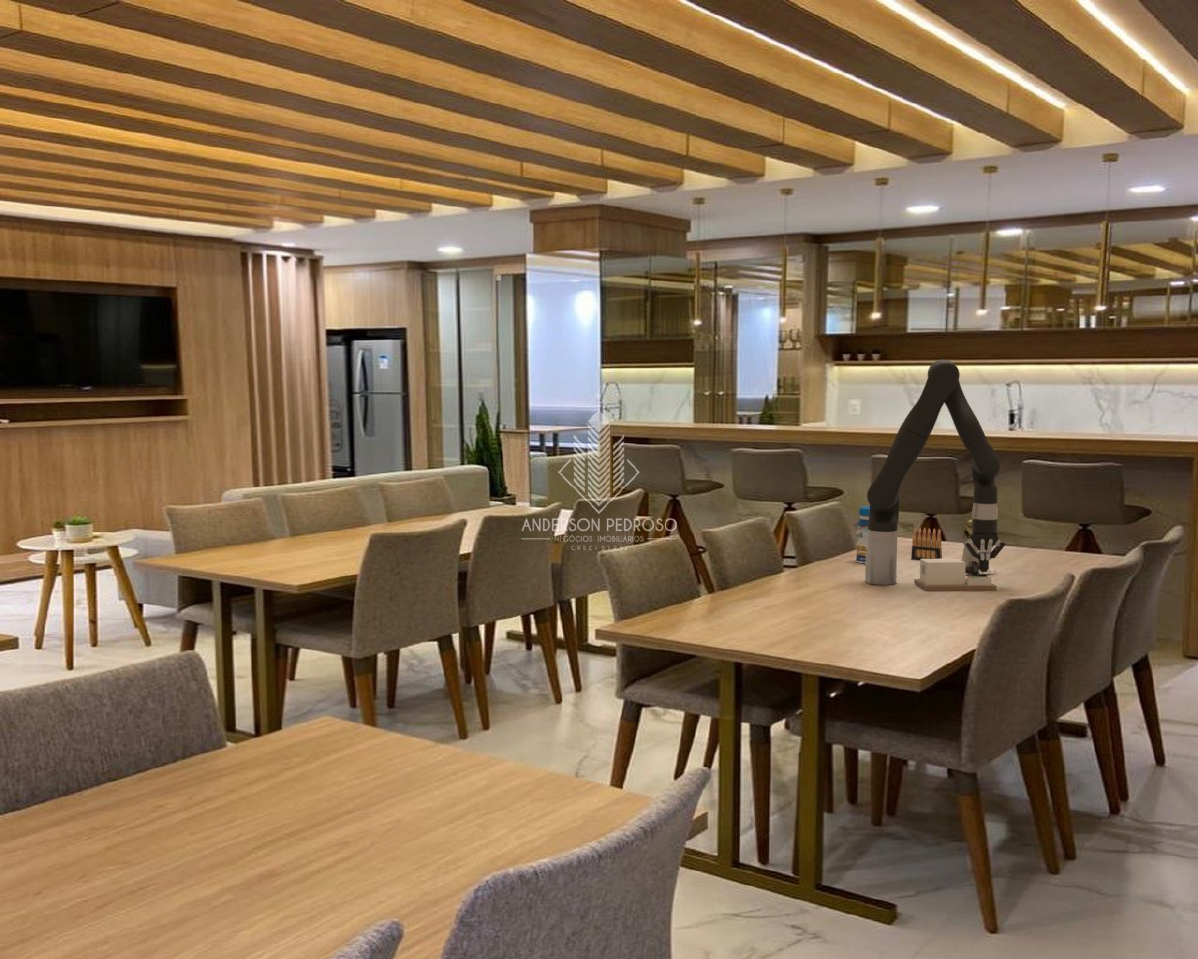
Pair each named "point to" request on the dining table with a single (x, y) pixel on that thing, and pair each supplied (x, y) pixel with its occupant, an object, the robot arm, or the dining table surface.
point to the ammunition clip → (926, 545)
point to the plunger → (972, 569)
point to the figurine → (966, 554)
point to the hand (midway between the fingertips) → (983, 571)
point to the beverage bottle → (862, 534)
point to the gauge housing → (950, 577)
